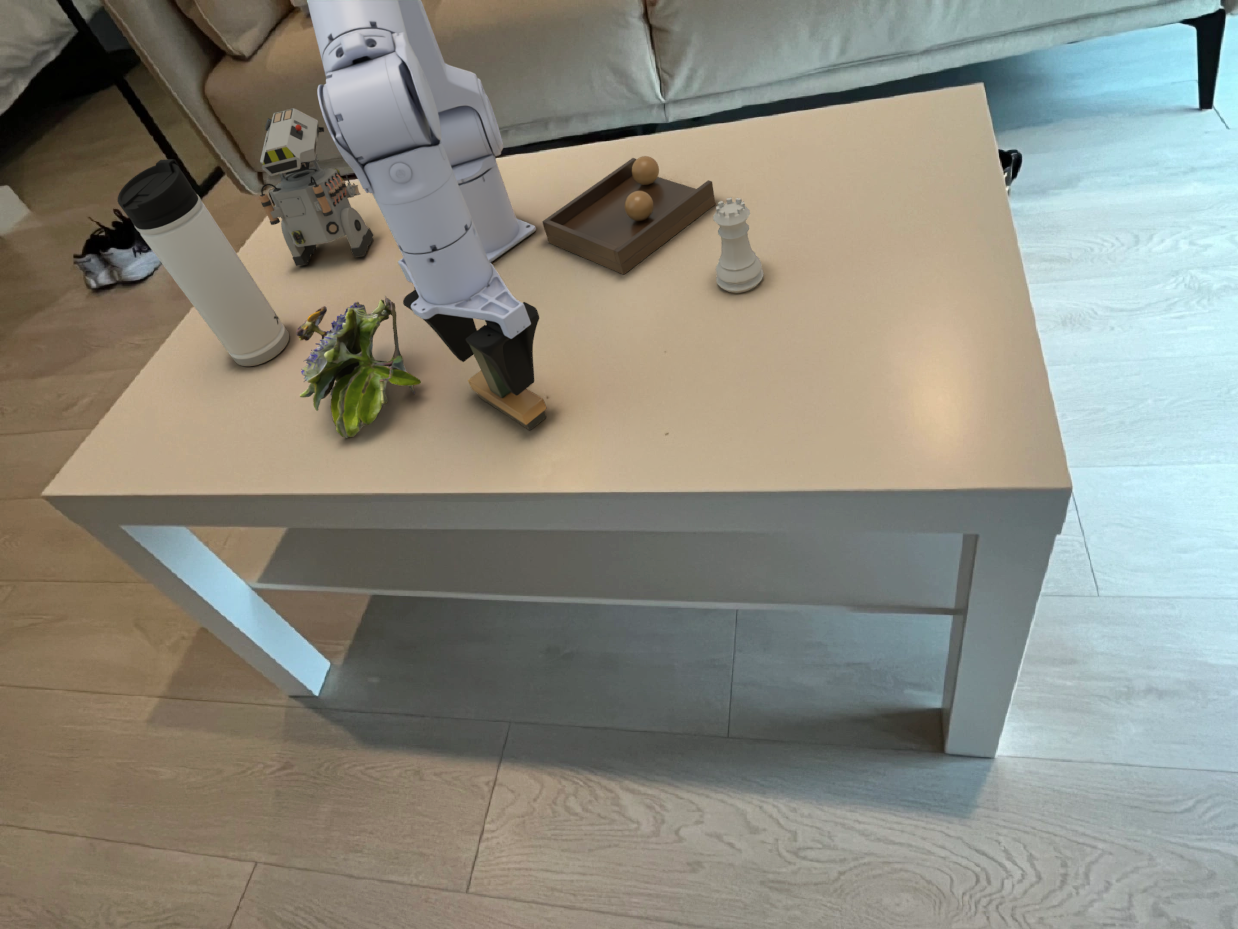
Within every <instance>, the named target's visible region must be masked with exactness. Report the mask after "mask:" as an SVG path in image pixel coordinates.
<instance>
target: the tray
mask: <svg viewBox="0 0 1238 929" xmlns="http://www.w3.org/2000/svg"><path fill="white" fill-rule="evenodd" d="M637 159H638V158H636V157H631V158H630V159H629V160H628V161H625V163H623V164H622V165H621V166H619V167H617V168H616V169H615V170H613V171H612V172H611V173H608V174H607V175H606V176H605V177H603V178H602V179H600V180H598V182H596V183H595V184H593V185H591V187H589V188H587V189H586V190H585V191H583V192H582V193H580V194H579V195H577V196H575V197H574V198H573V199H572V200H570V201H569V202H567V203H565V205H563V206H562V207H560V208H559V209H558V210H556V211H555V212H554V213H552V214H551V215H549V216H548V217H546V218H544V219H543V220H542V221H541V222H542V225H543V229H544V232H545V236H546V238H547V241H548V244H551V245H553V246H555V247H558V248H560V249H563V250H564V251H568V252H569V253H571V254H574V255H577V256H579V257H582V258H584V259H586V260H588V261H591V262H593V263H596V264H597V265H601V266H603V267H605V268H607V269H610V270H611V271H614V272H616V273H619V274H620V275H621V274H622V275H626V273H628V272H629V271H630V270H632V269H633V268H635V267H636V266H637V265H639V263H641V262H643V261H644V260H645V259H647V257H649V256H650V255H652V254H653V253H654V252H655V251H657V250H658V249H659V248H660V247H663V245H664V244H666V243H667V242H668V241H670V240H671V239H672V238H673V237H675V236H677V235H678V234H679V233H680V232H681V231H682V230H684V229H685V228H686V227H688V226H689V225H690V224H691V223H693V222H695V220H697V219H698V218H699V217H701V216H702V215H703V214H705V213H706V212H707V211H709V210H710V209H711V208H712V207H714V206H715V205H716V198H715V192H714V191H715V190H714V184H713V180H706V181H705V182H704V183H702V184H701V185H700V186H698V187H696V188H695V187H692V186H689V185H685V184H682V183H679V182H675V181H673V180H669V179H666V178H663V177H659V176H658V177H657V179H656V180H655V181H654V182H653V183H652V184H649V185H641V184H639V183H637V182H636V181H635V180H634V178H633V176H632V166H633V164H634V162H635V161H636V160H637ZM635 191H643V192H646V193H647V194H649V195H650V197H651V198H652V200H653V205H654V207H653V211H652V214H651V215H650V216H649V217H648V218H647V219H646V220H643V221H635V220H632V219H631V218H630V217H629V216H628V215H627V213H626V211H625V201H626V199H627V197H628V196H629V195H630V194H631V193H633V192H635Z"/></svg>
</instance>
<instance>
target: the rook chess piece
mask: <svg viewBox="0 0 1238 929" xmlns="http://www.w3.org/2000/svg"><path fill="white" fill-rule="evenodd" d="M725 200H726V203H725V202H724V201H723V200H720V201H719V202H717V206H715V212H714V214H713V216H712V219H713V222H715V223H716V224H717V225H718V226H719V228H718V230H717V235H718V236H719V237H720V240H721V241H720V242H721V245H720V246H721V252H720V256H719V258H718V262H717V264H716V266H715V275H716V277H715V278H716V279H715V281H716V284H717V285H718V287H720V288H721V289H722V290H724V291H726V292H729V293H733V294H740V293H745V292H749V291H750V290H753V289H755V287H757V286H758V285H759V284H760V283H761V281H762V280H763V277H764V269H763V265H762V261H761V259H760V257H759V256H758V255H757V254H756V252H755V251H754V250H753V248H752V246H751V242H750V240H749V233H748V232H749V230H750V225H749V224H748V222H747V220H748V219H749V217H750V215H751V211H750V208H748V206H746V204H745V200H743V199H742V198H740V197H736V198H735V201H733V196H732V197H731V196H730V197H727V198H725ZM742 200H743V201H742Z"/></svg>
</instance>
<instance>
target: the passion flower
mask: <svg viewBox="0 0 1238 929" xmlns="http://www.w3.org/2000/svg"><path fill="white" fill-rule="evenodd" d="M327 312H328V308H327V306H326V305H323V306H321V307H320V308H319V309H317V310H315V312H313V313H311V314H310V315H309V316H308V317H307V319H306V320H305V321H304V323H302V324H301V325H300V326H299V327H298V328H297V329H296V331H295V335H296V336H297V337H298V338H299V339H298V340H299V341H305V342H307V341H309V340H310V339H311V338H312V337H313V336H314V334H315V333H317V334H318V335H320V336H321V339H319V342H318V343H317V342H316V343H315V345H316V346H317V347H316V348H314V349H311V350H310V351H311V352H310V353H309V356H308V357H307V358H306V359H304V360H303V363H304V362H305V363H306V365H305V366H304V367H303V368H301V369H300V370H301V371H300V373H301V375H302V376H304V377H303V380H304V381H303V383H305V382H307V383H309V384H308V387H307V388H306V390H305V391H302V393H300V394H299V397H300V398H309V397H312V395H313V398H312V402H313V408H314V410H315V411H317V412H318V411H319V408H320V405H321V401H322V400H323V399H326V397H327V396H328V395H329V394H330V412H331V417H332V419H333V424H334V425H335V431H336V433H337V434H339V436H341V437H343V438H345V439H349V438H353V437H355V436H356V435H357V434H358V433H359V432H360V431H361V429H362V428H363V427H364V426H370V425H371V424H373V423H374V421H375V420H376V419H377V417H378V416H379V414H380V412H381V410H382V408H383V405H387V404H388V397H387V393H386V392H387V391H386V390H387V383H388V382H389V383H390V384H392V385H395V386H396V385H397V386H399V387H408V388H409V389H410V392H411V393H412V394H413V395H415V394H416V391H415V390H414V386H418V385H420V384H422V380H421V379H419V378H418V377H417V376H416V375H413V374H411V373H410V372H408V371H407V369H406V366H405V362H404V356H403V355H402V353H401V350H400V344H399V336H398V335H399V334H398V326H397V325H398V324H397V311H396V304H395V302H394V301H391V299H390V298H388V297H387V295H384V299H380V300H379V301H378V305H377V307H375V308H374V309H373V311H371V313H367V310H366V306H365V305H364V304H361V303H360V302H359V301H355V302H353V304H352V305H349V307H346V308H345V311H344V312H343V314H342V313H340V314H339V315H336V320H333V321H332V322H331V323H330V325H331V328H330V329H329V330H327V331H325V330H323V329H321V328H320V326H319V325H320V324H321V323H322V322H323V319H324V317H325V315H326V314H327ZM390 316H392V317H391V318H392V332H393V344H394V351H393V354H392V356H391V359H389V360H378V359H375V357H374V354H373V350H374V336H375V334H376V332H377V331H378V328H380V325H381V323H382V322H384V321H387V320H389V319H390Z"/></svg>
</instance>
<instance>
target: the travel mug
mask: <svg viewBox="0 0 1238 929" xmlns="http://www.w3.org/2000/svg"><path fill="white" fill-rule="evenodd" d="M117 204H118V205H119V206H120V208H121V209H122V211H123V212H124V213H125V215H126V216H127V218H129V219H130V221H131V223H132V224H133V226H134V228H135V229H136V231H137V232H139V234H140V236H141V238H142V239H143V240H144V241H145V243H146V244H147V246H148V247H149V248H150V250H151V251H152V252H153V253H154V254H155V256H156V257H157V259H158V261H160V263H161V264H162V265H163V267H164V268H165V270H166V272H168V274H169V275H170V276H171V278H172V279H173V280H174V282H175V283H176V285H177V286H178V287H179V289H180V290H181V291H182V292H183V294H184V296H186V298H187V299H188V301H189V302H190V303H191V304H192V306H193V307H194V309H195V310H196V311H197V313H198V314H199V315H200V317H201V318H202V320H204V322H205V323H206V325H207V326H208V328H209V329H210V330H211V331H212V333H213V334H214V335H215V337H216V338H217V339H218V341H219V342H220V343H221V346H223V348H224V349H225V350H226V351H227V353H228V354H229V355H230V356H229V357H231V359H232V360H233V361H234V362H235V363H236V364H237V365H239V366H241V367H253V366H259V365H262V364H265V363H267V362H268V361H271V360H273V359H274V358H275V357H277V356H278V355H279V354H281V353H282V351H283V350H284V349H285V348H286V347H287V345H288V344H289V341H290V332H289V331H288V329H287V328H286V327H285V324H284V323H283V322H282V320H281V319H280V317H279V316H278V314H277V313H276V311H275V310H274V309H273V307H272V305H271V304H270V302H269V300H268V299H267V298H266V296H265V294H264V293H263V291H262V290H261V288H260V287H259V285H258V283H257V282H256V281H255V279H254V278H253V276H252V274H251V273H250V272H249V270H248V269H247V267H246V265H245V264H244V262H243V261H242V259H241V258H240V256H239V255H238V253H237V252H236V251H235V249H234V247H233V245H231V243H230V241H229V240H228V238H227V237H226V235H225V234H224V232H223V231H222V229H221V228H220V226H219V225H218V223H217V222H216V220H215V218H214V217H213V215H212V214H211V212H210V211H209V209H208V208H207V207H206V205H205V203H204V202H203V201H202V199H201V197H200V196H199V194H198V193H197V192H196V191H195V189H194V188H193V187H192V185H191V183H190V181H189V180H188V179H187V177H186V176H185V174H184V172H183V171H182V169H181V167H180V164H179V162H178V161H177V160H176V158H168V159H167V158H166V159H159V160H158V161H157V162H156V163H155V165H153V166H151V167H148V168H146V169H144V170H142V171H141V172H139V173H137V174H136V175H134V177H132V178H131V179H129V181H128V182H126V183H125V184H124V186H123V187H122V188H121V189H120V191H119V193H118V196H117Z"/></svg>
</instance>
